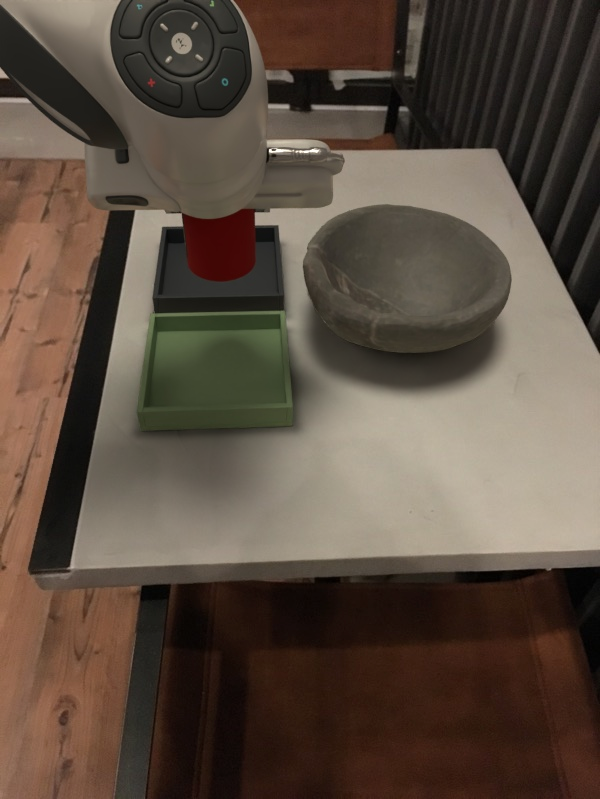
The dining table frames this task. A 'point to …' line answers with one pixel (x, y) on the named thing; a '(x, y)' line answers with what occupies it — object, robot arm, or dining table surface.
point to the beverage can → (221, 245)
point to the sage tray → (215, 371)
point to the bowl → (405, 278)
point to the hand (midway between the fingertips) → (217, 204)
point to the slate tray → (195, 294)
